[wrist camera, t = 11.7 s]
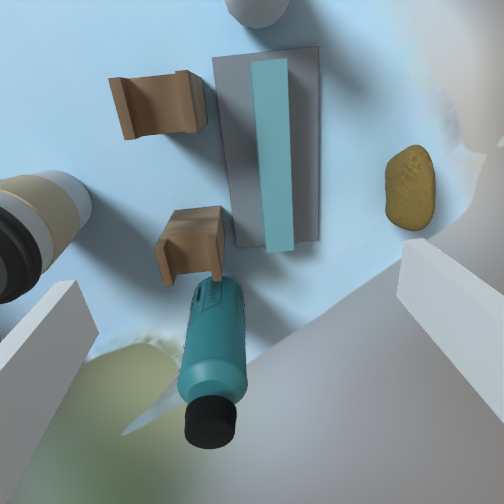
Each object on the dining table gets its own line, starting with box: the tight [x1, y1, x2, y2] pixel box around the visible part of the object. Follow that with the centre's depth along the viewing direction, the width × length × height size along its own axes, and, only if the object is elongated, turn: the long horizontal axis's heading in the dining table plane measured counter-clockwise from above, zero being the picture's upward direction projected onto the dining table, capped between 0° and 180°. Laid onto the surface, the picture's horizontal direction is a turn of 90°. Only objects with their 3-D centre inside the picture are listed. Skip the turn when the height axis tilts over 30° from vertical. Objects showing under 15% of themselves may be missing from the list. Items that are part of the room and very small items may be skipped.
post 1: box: [108, 70, 208, 140], centre depth 26 cm, size 5×4×10 cm
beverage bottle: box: [177, 276, 248, 449], centre depth 32 cm, size 6×7×20 cm
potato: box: [385, 145, 435, 231], centre depth 32 cm, size 7×8×8 cm
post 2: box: [154, 206, 225, 287], centre depth 32 cm, size 5×4×10 cm
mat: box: [212, 46, 319, 249], centre depth 33 cm, size 10×20×1 cm, turn 5°
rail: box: [249, 58, 294, 253], centre depth 31 cm, size 3×18×4 cm, turn 5°
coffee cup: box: [0, 170, 92, 304], centre depth 28 cm, size 9×9×15 cm
